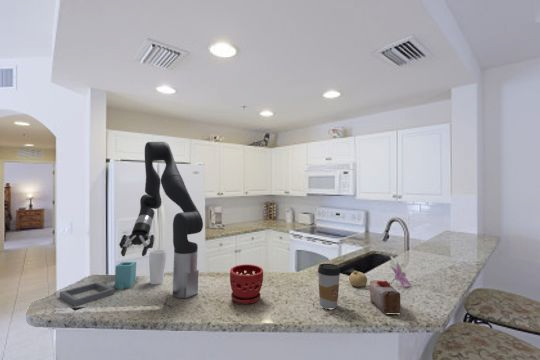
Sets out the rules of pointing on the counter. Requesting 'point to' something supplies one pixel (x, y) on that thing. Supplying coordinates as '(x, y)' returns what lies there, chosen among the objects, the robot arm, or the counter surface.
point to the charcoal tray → (75, 301)
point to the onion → (358, 279)
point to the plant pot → (246, 283)
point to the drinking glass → (157, 266)
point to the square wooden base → (127, 288)
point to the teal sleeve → (125, 275)
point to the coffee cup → (328, 285)
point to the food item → (385, 296)
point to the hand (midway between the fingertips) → (133, 255)
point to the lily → (400, 276)
